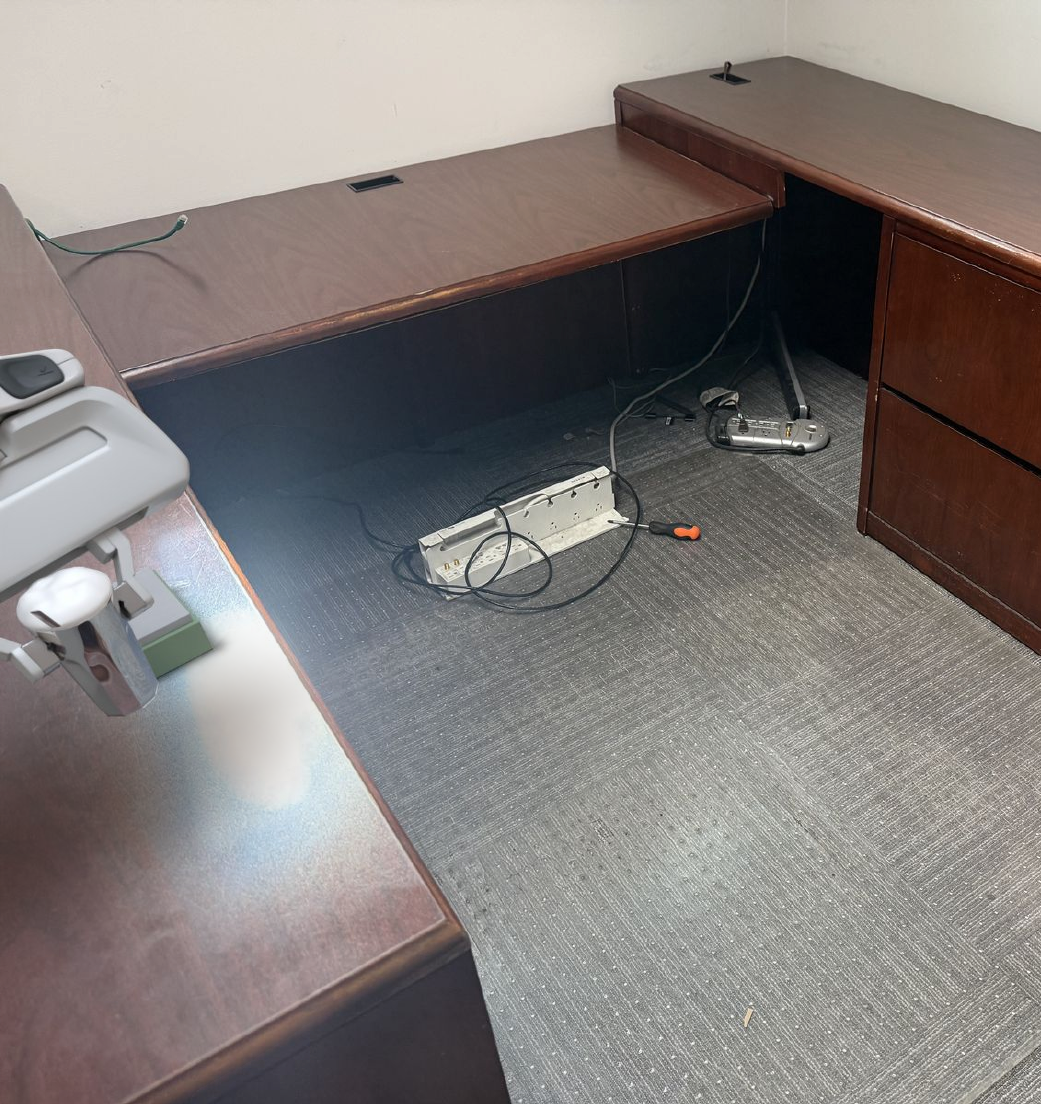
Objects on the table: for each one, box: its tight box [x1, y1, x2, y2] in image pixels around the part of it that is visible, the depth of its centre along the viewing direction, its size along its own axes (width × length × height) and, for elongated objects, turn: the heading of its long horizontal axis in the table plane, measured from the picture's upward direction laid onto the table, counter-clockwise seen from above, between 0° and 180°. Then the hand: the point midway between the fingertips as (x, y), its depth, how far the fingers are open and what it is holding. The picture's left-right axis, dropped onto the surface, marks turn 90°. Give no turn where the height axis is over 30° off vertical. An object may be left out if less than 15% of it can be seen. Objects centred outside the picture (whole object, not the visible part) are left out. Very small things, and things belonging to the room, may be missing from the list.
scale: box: [111, 565, 214, 679], centre depth 79 cm, size 7×9×4 cm
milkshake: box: [15, 566, 159, 718], centre depth 56 cm, size 5×5×10 cm
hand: (97, 641), depth 56 cm, fingers closed on milkshake, 4 cm apart
